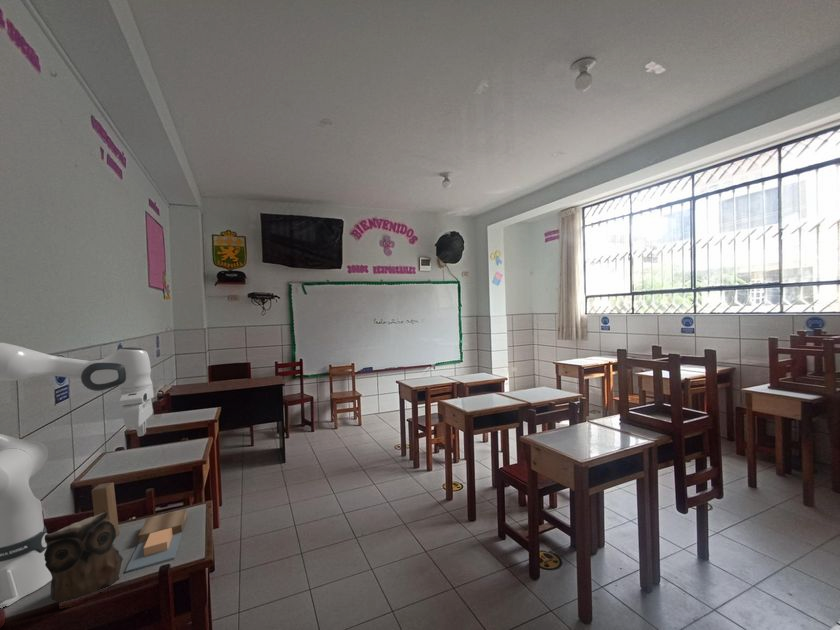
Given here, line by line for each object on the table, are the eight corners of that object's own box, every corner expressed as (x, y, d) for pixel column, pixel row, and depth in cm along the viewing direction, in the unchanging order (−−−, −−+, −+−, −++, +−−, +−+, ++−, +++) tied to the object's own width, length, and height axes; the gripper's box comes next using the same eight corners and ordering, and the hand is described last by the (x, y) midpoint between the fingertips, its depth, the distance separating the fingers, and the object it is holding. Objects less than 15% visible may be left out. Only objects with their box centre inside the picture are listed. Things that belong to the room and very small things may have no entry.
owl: (127, 575, 112) (119, 505, 111) (90, 610, 99) (81, 531, 98) (81, 579, 111) (74, 510, 111) (39, 614, 99) (30, 536, 98)
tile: (144, 556, 119) (143, 548, 119) (151, 540, 127) (150, 533, 127) (167, 549, 122) (166, 541, 121) (172, 535, 130) (171, 527, 130)
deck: (138, 544, 126) (138, 535, 126) (147, 526, 138) (147, 518, 137) (182, 533, 131) (181, 524, 131) (187, 516, 142) (186, 508, 142)
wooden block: (81, 546, 128) (75, 492, 128) (90, 538, 133) (84, 486, 132) (112, 541, 130) (106, 487, 129) (119, 533, 134) (114, 481, 134)
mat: (125, 572, 113) (125, 571, 113) (138, 544, 126) (138, 543, 126) (174, 558, 117) (173, 557, 117) (182, 533, 131) (181, 531, 131)
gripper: (134, 390, 141) (138, 428, 142) (117, 402, 123) (121, 446, 123) (155, 388, 144) (159, 425, 144) (141, 398, 125) (145, 441, 126)
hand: (141, 435), depth 134 cm, fingers closed
